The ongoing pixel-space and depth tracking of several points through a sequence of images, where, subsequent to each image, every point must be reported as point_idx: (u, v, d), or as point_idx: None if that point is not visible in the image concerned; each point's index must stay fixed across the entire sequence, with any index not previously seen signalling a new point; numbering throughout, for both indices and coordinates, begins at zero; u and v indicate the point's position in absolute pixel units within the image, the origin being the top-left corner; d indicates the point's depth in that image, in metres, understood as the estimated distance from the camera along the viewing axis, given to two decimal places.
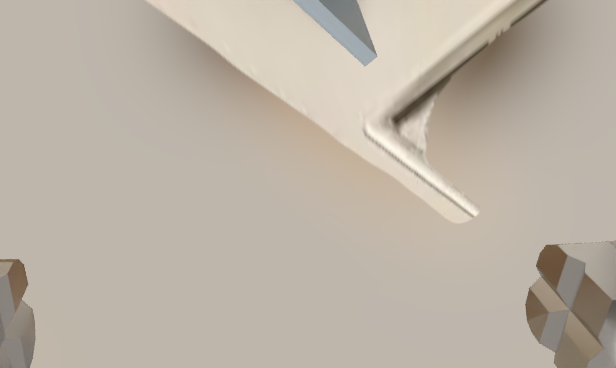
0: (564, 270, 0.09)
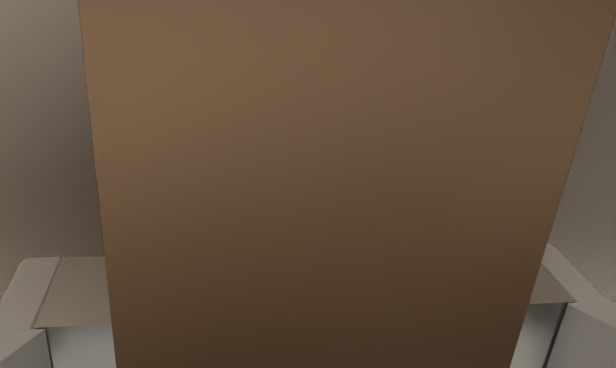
0: None
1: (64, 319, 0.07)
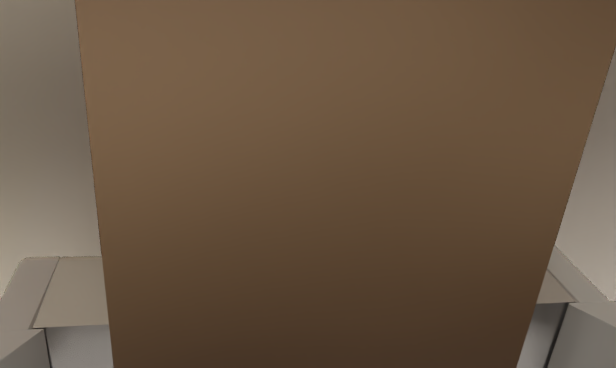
0: None
1: (63, 319, 0.07)
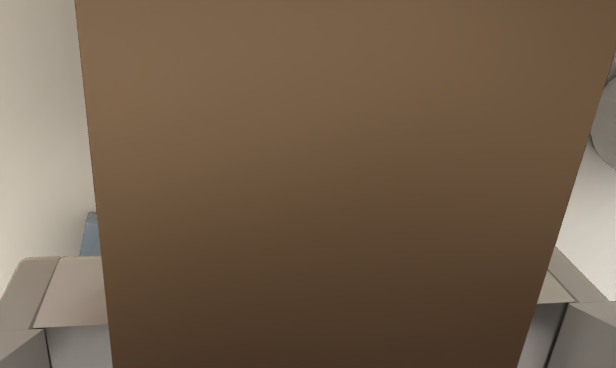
0: None
1: (63, 319, 0.07)
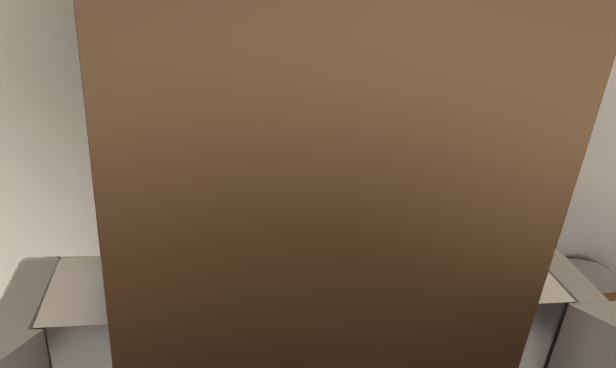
0: None
1: (63, 319, 0.07)
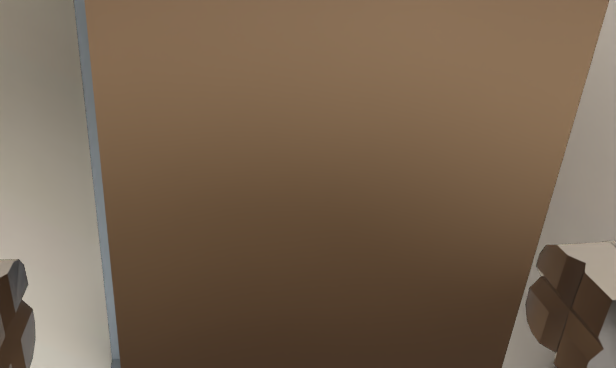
0: (564, 270, 0.09)
1: None
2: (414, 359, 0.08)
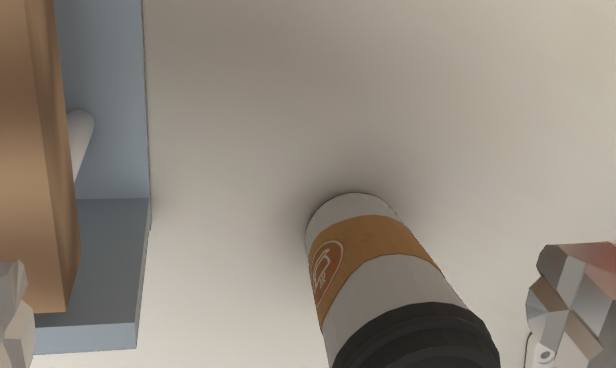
0: (564, 270, 0.09)
1: None
2: None
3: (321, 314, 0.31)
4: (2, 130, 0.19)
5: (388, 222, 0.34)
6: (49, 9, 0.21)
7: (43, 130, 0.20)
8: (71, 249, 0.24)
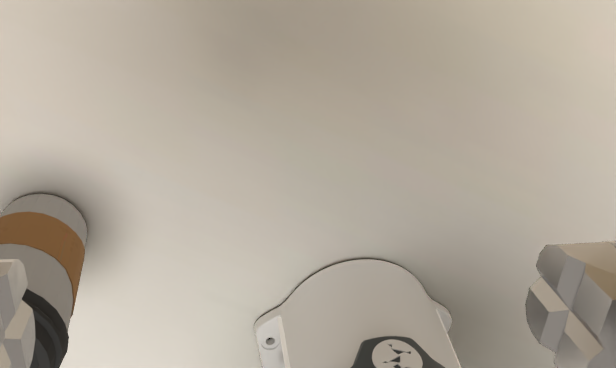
0: (564, 270, 0.09)
1: None
2: None
3: None
4: None
5: (38, 217, 0.40)
6: None
7: None
8: None
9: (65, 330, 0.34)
